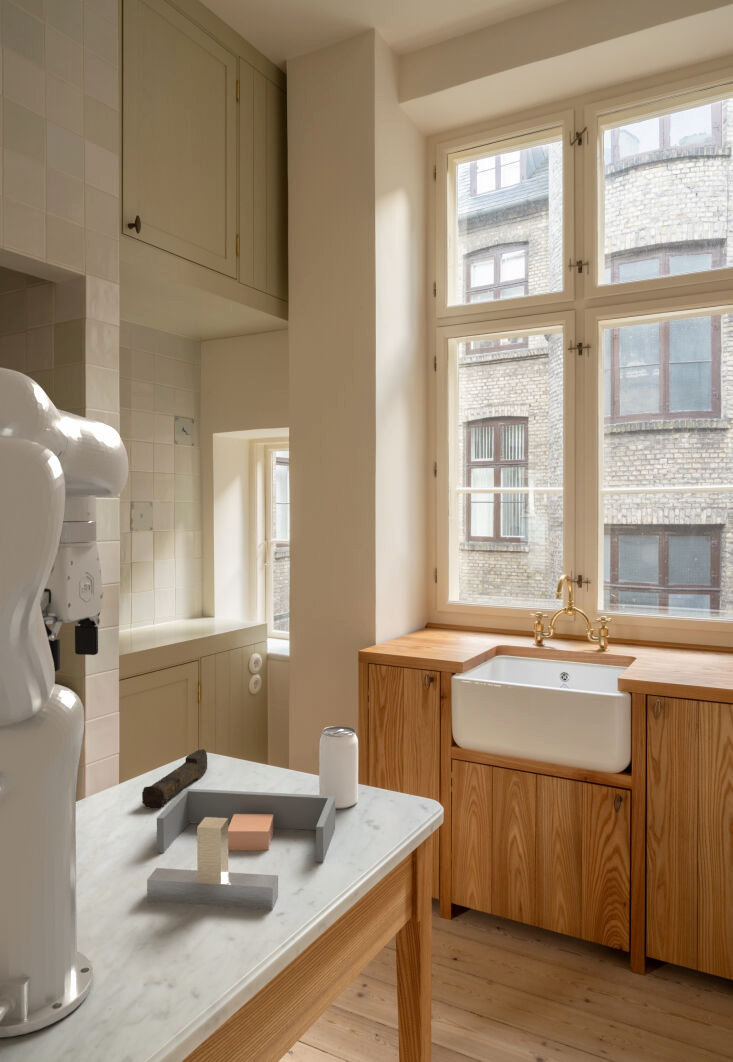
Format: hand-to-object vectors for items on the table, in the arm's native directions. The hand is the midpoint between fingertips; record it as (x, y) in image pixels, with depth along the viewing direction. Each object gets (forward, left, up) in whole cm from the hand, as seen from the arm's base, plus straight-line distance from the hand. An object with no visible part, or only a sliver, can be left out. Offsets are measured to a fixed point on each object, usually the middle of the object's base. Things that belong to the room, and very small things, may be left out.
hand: (67, 661), depth 99 cm
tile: (+11, -22, -29) cm, 38 cm away
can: (+27, -33, -29) cm, 51 cm away
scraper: (-5, -22, -29) cm, 36 cm away
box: (+11, -22, -28) cm, 37 cm away
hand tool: (+30, -4, -29) cm, 42 cm away
